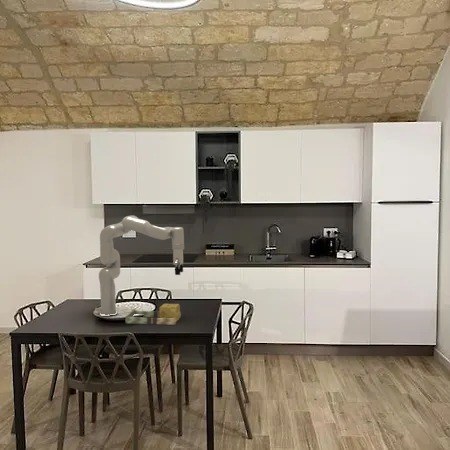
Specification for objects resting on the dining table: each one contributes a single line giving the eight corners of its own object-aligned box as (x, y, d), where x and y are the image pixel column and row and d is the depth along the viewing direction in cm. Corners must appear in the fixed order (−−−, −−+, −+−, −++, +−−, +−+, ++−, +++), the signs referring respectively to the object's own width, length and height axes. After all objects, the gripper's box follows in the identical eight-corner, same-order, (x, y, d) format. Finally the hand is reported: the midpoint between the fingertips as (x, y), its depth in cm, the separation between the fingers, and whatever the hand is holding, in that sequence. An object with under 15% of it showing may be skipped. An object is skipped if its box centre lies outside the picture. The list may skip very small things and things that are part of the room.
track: (125, 323, 296) (125, 316, 295) (133, 316, 312) (133, 309, 311) (175, 324, 292) (175, 317, 292) (180, 317, 308) (180, 310, 308)
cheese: (175, 323, 295) (175, 307, 294) (158, 322, 297) (158, 306, 296) (180, 319, 305) (180, 303, 304) (164, 318, 307) (163, 302, 306)
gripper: (175, 245, 312) (176, 271, 314) (169, 248, 295) (170, 276, 296) (186, 244, 311) (187, 270, 313) (181, 248, 294) (182, 275, 296)
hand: (179, 273), depth 305 cm, fingers open, 9 cm apart
